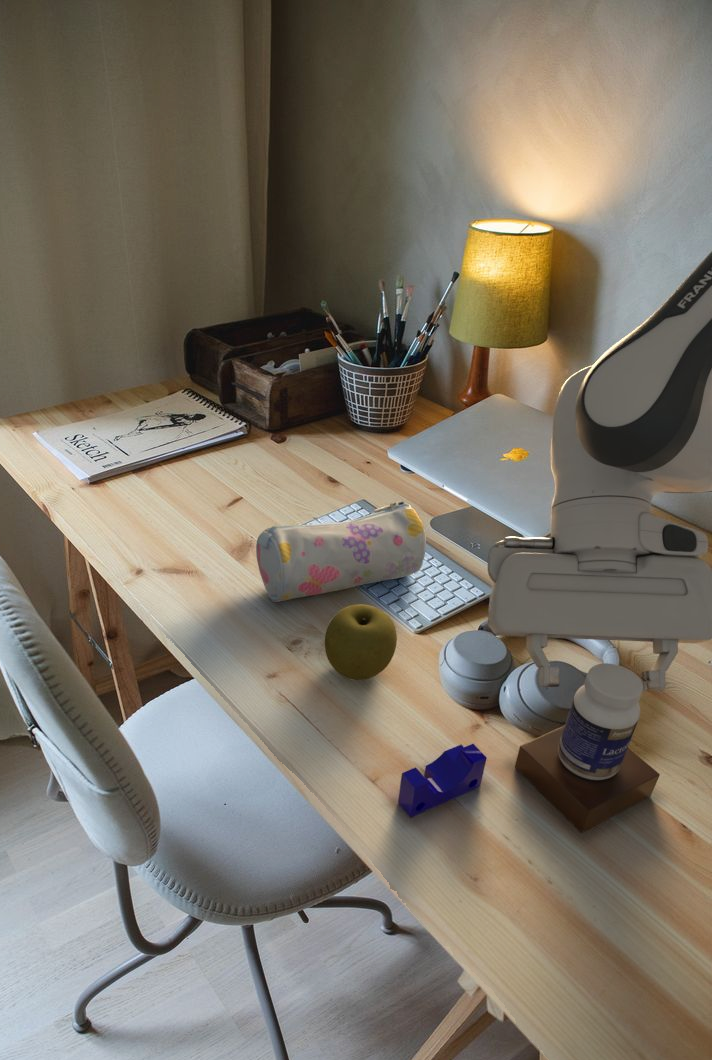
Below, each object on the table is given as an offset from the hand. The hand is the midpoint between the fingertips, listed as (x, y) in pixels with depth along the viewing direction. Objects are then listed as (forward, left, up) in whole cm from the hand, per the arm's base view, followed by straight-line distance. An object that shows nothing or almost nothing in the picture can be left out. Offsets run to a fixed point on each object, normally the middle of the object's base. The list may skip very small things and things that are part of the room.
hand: (601, 688), depth 75 cm
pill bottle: (+1, +2, -7) cm, 7 cm away
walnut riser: (+1, +2, -10) cm, 10 cm away
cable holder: (+14, -4, -10) cm, 18 cm away
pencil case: (+4, -37, -10) cm, 39 cm away
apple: (+11, -22, -10) cm, 27 cm away
